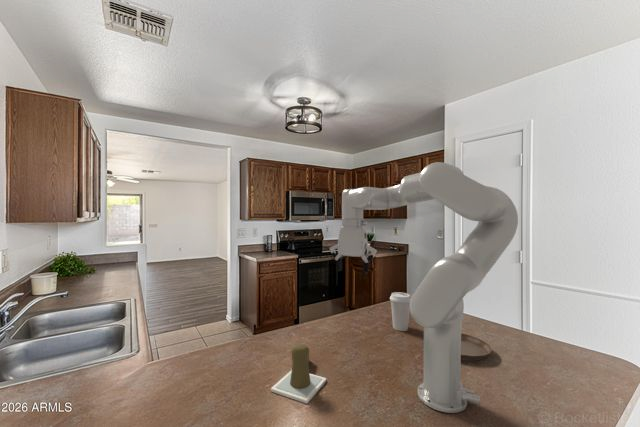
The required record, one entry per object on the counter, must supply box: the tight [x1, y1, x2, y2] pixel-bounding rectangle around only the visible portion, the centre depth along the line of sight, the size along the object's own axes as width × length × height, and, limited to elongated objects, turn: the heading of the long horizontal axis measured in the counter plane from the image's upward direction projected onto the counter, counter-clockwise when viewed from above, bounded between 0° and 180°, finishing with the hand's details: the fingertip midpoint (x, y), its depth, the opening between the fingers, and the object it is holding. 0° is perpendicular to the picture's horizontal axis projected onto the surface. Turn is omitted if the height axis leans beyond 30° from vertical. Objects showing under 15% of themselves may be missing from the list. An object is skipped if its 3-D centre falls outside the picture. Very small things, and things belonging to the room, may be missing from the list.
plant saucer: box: [461, 332, 492, 362], centre depth 109 cm, size 21×21×3 cm
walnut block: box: [291, 346, 310, 365], centre depth 98 cm, size 5×5×5 cm
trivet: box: [270, 369, 327, 405], centre depth 86 cm, size 12×12×1 cm
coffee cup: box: [389, 291, 412, 332], centre depth 129 cm, size 10×10×15 cm
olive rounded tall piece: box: [290, 343, 310, 389], centre depth 86 cm, size 6×6×11 cm
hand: (352, 272), depth 103 cm, fingers open, 9 cm apart
